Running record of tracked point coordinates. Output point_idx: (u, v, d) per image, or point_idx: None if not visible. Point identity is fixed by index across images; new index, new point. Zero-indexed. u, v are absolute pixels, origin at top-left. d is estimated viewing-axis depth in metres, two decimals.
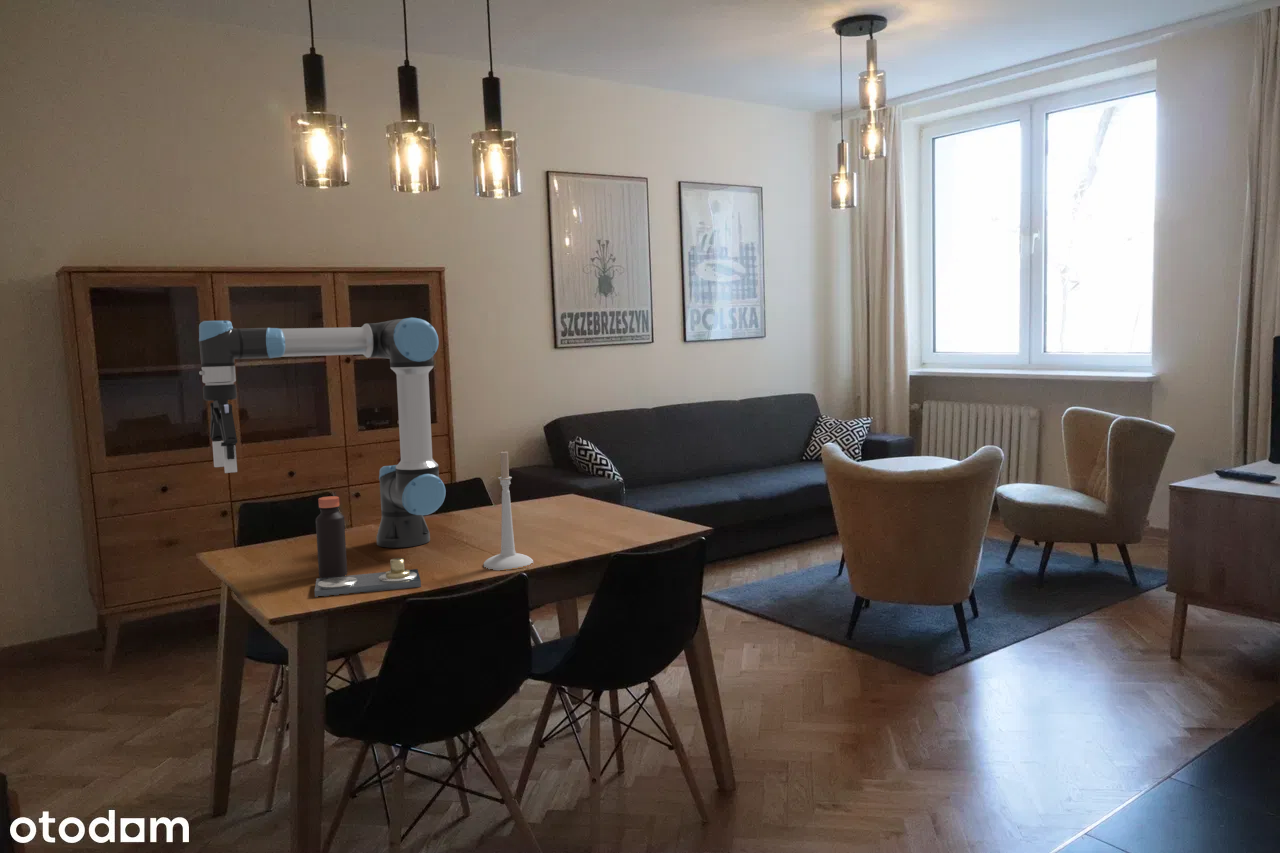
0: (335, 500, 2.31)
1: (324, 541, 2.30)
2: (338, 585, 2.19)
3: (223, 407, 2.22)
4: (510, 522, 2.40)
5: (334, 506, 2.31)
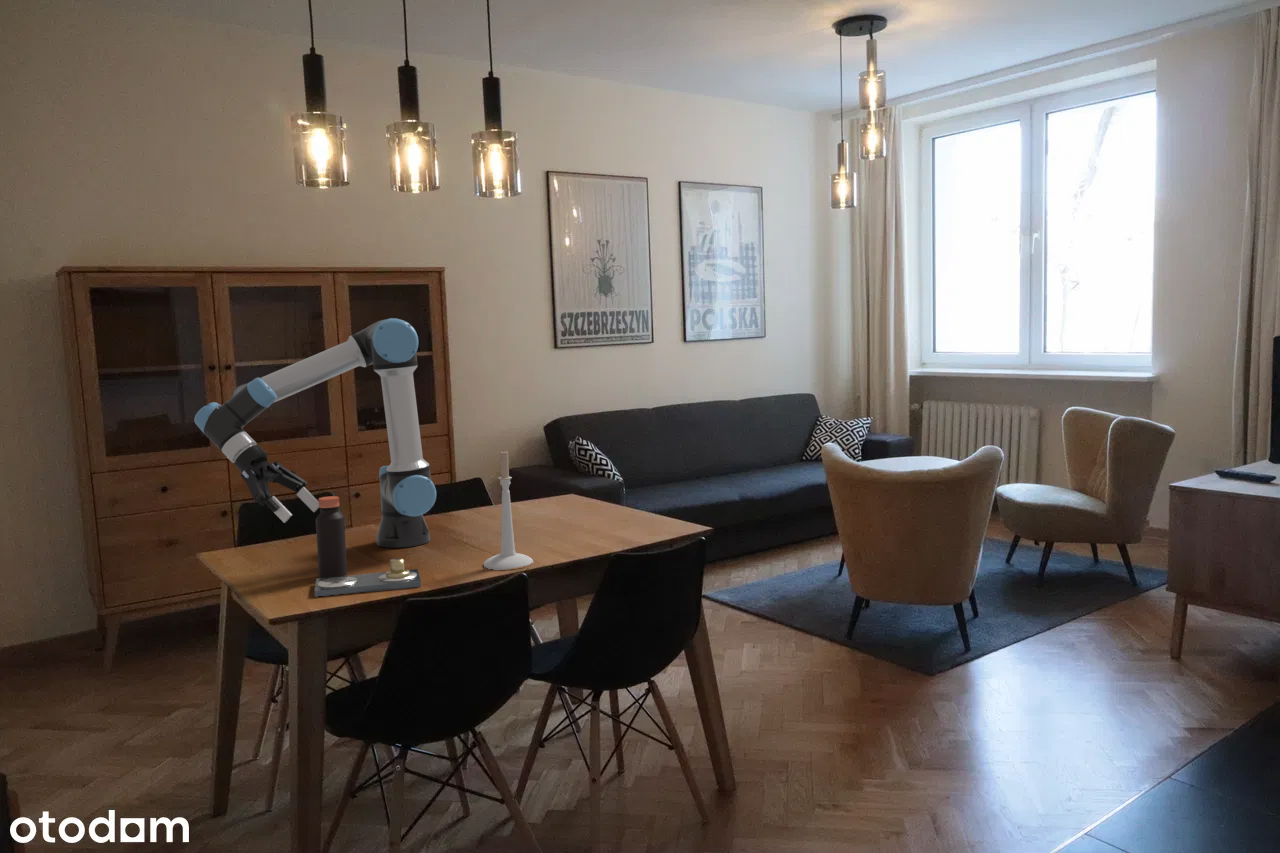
0: (335, 500, 2.31)
1: (324, 541, 2.30)
2: (338, 585, 2.19)
3: (242, 475, 2.28)
4: (510, 522, 2.40)
5: (334, 506, 2.31)
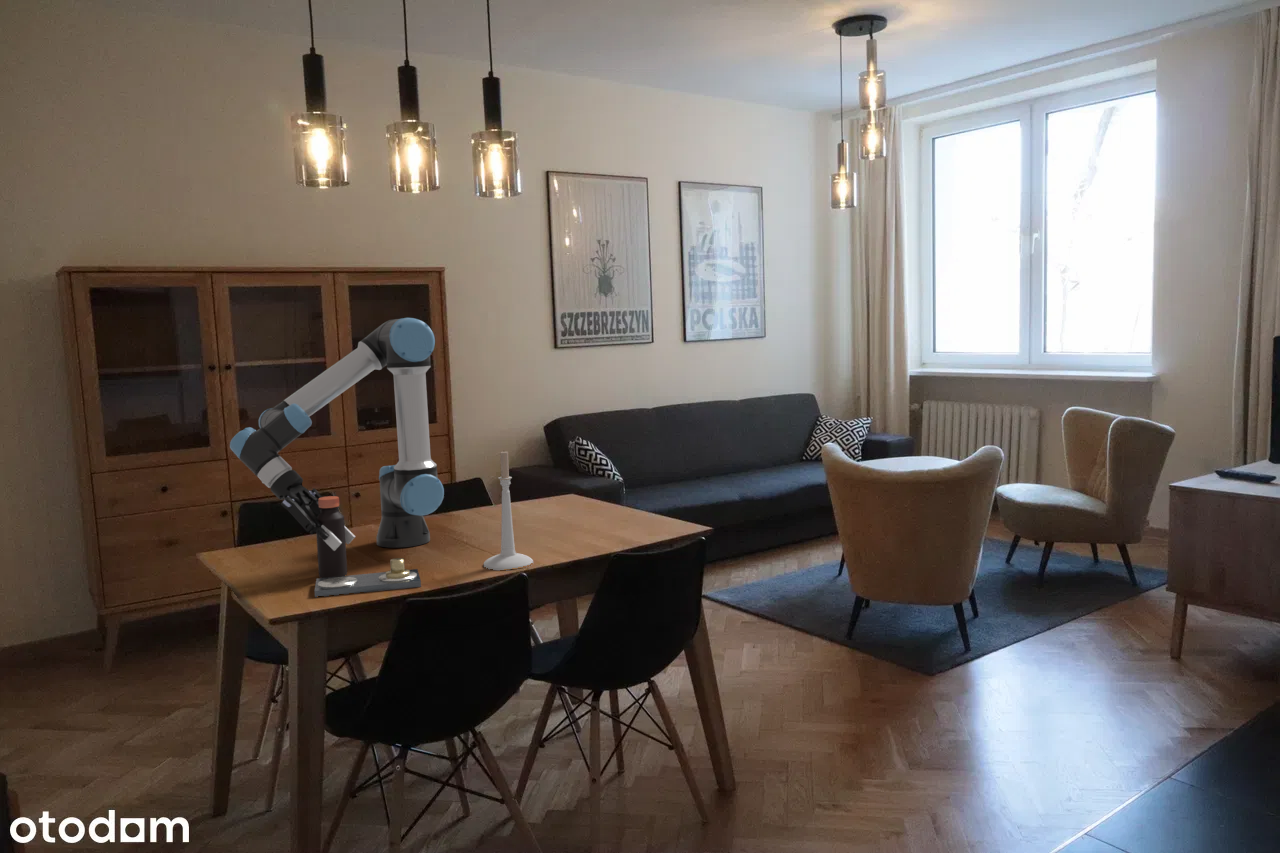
0: (335, 500, 2.31)
1: (324, 541, 2.30)
2: (338, 585, 2.19)
3: (283, 504, 2.27)
4: (510, 522, 2.40)
5: (334, 506, 2.31)
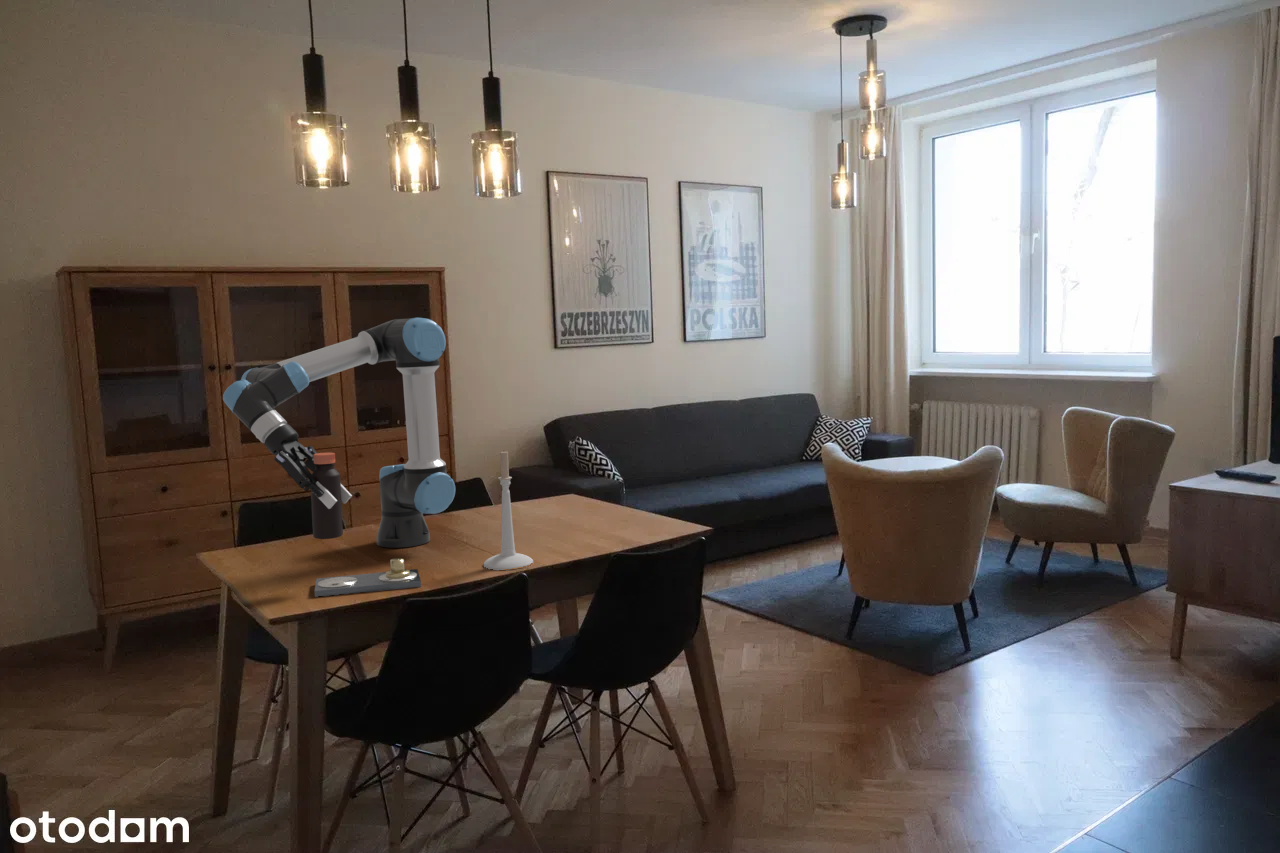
0: (331, 456, 2.20)
1: (318, 498, 2.19)
2: (338, 585, 2.19)
3: (277, 459, 2.17)
4: (510, 522, 2.40)
5: (329, 462, 2.20)
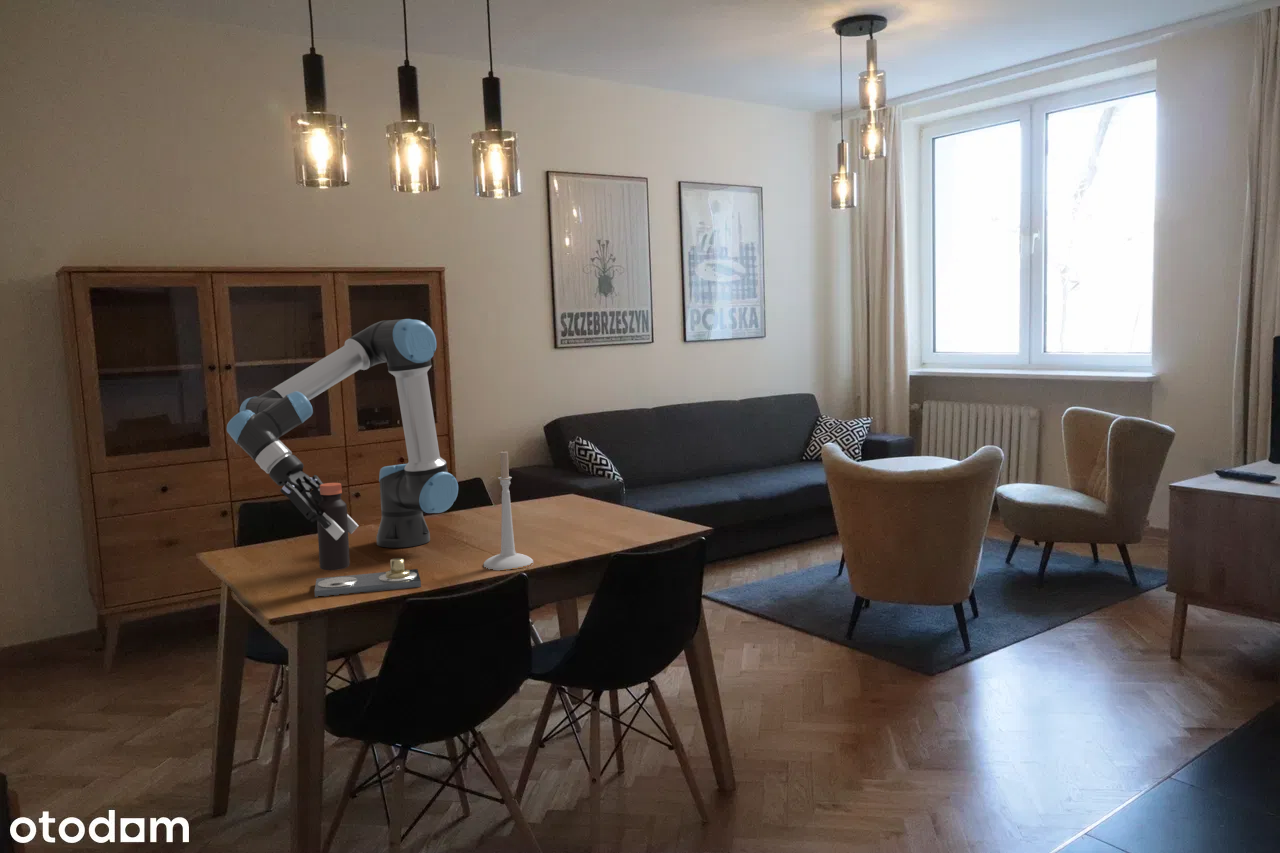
0: (337, 487, 2.18)
1: (325, 530, 2.17)
2: (338, 585, 2.19)
3: (283, 491, 2.15)
4: (510, 522, 2.40)
5: (336, 493, 2.18)
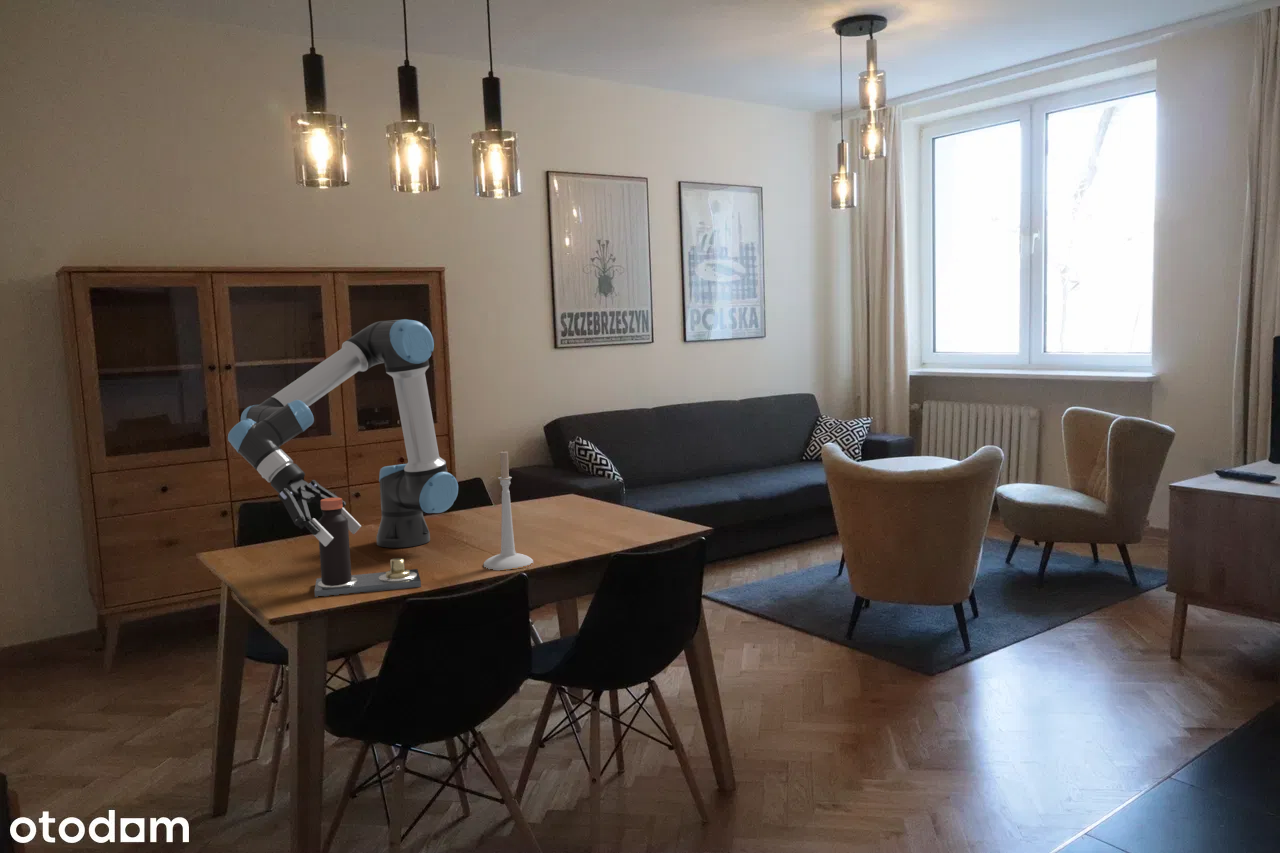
0: (338, 501, 2.19)
1: (327, 545, 2.17)
2: (338, 585, 2.19)
3: (280, 496, 2.15)
4: (510, 522, 2.40)
5: (337, 508, 2.18)
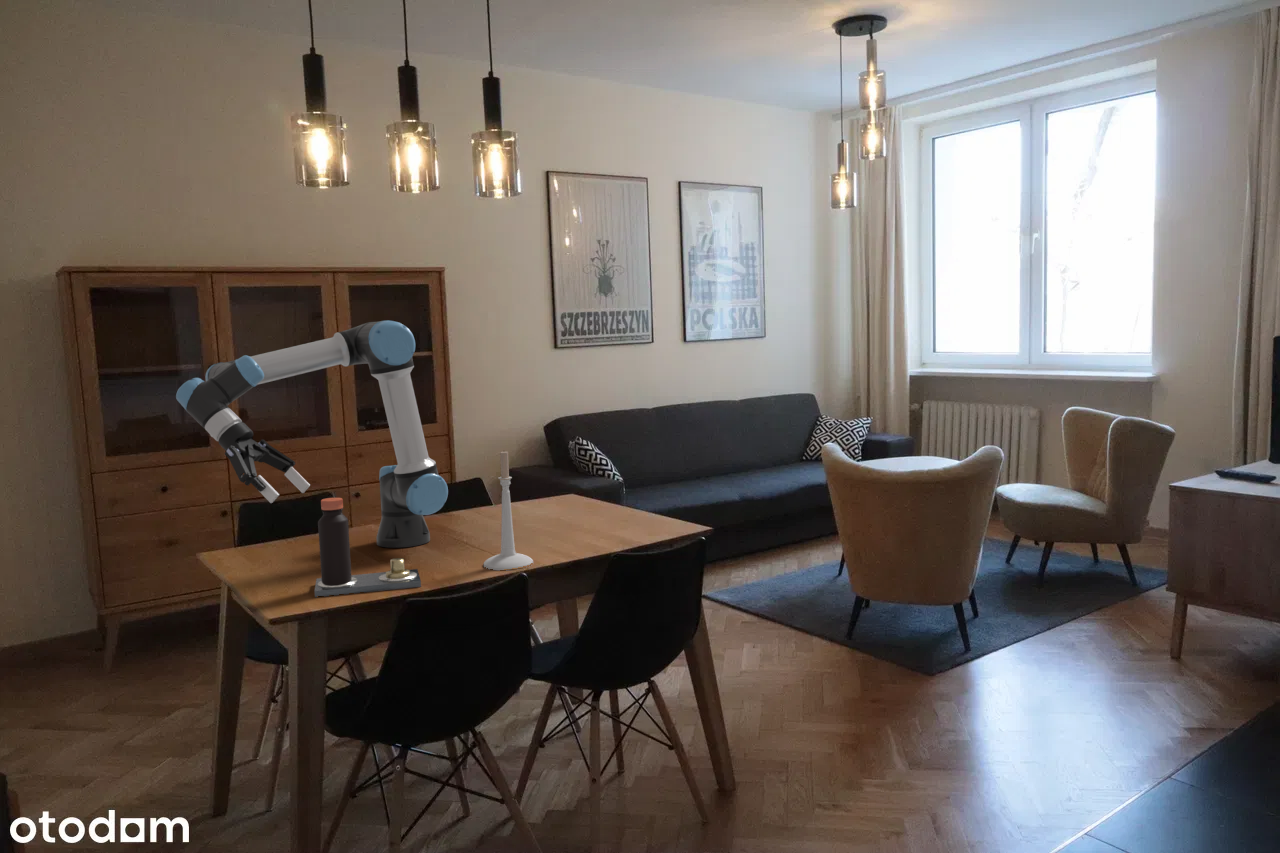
0: (339, 502, 2.18)
1: (327, 545, 2.17)
2: (338, 585, 2.19)
3: (226, 453, 2.16)
4: (510, 522, 2.40)
5: (338, 508, 2.18)
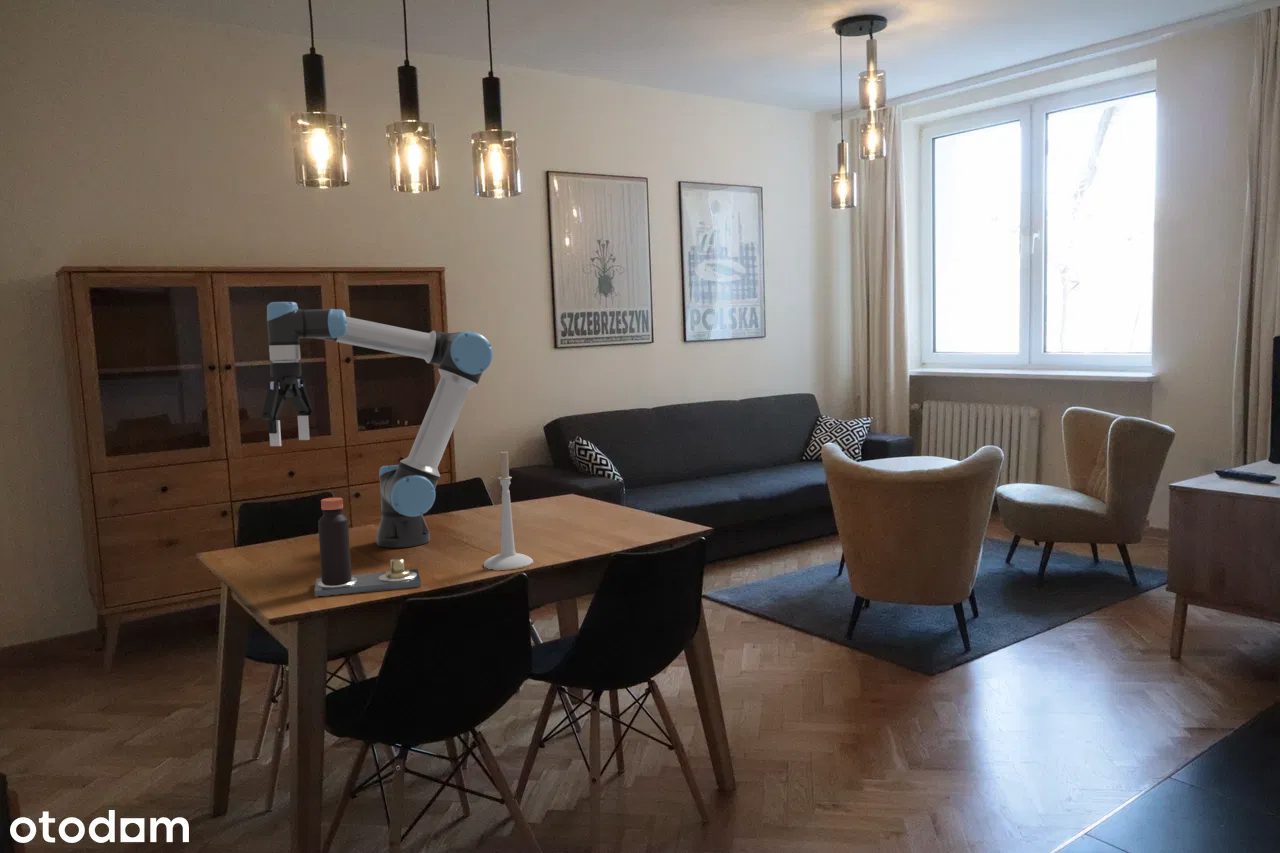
0: (339, 501, 2.19)
1: (327, 544, 2.17)
2: (338, 585, 2.19)
3: (269, 384, 2.35)
4: (510, 522, 2.40)
5: (338, 508, 2.18)
